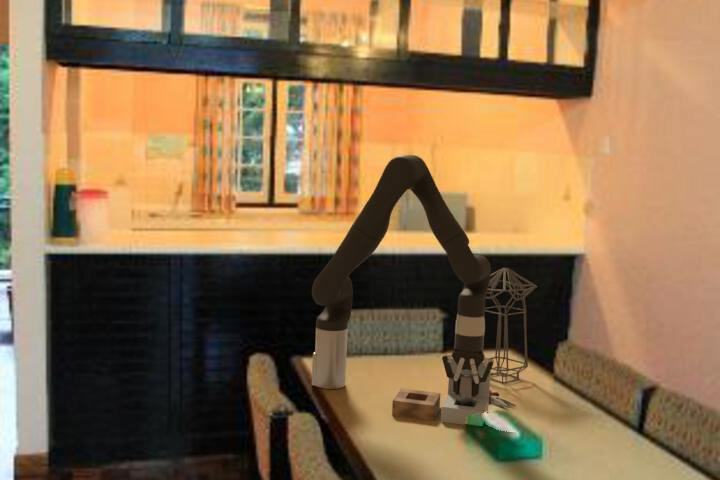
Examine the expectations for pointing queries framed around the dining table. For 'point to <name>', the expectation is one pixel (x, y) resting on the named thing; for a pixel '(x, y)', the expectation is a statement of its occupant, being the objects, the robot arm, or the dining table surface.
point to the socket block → (416, 404)
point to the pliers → (498, 400)
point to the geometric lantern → (493, 285)
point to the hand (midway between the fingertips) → (465, 394)
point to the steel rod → (465, 390)
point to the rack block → (459, 413)
